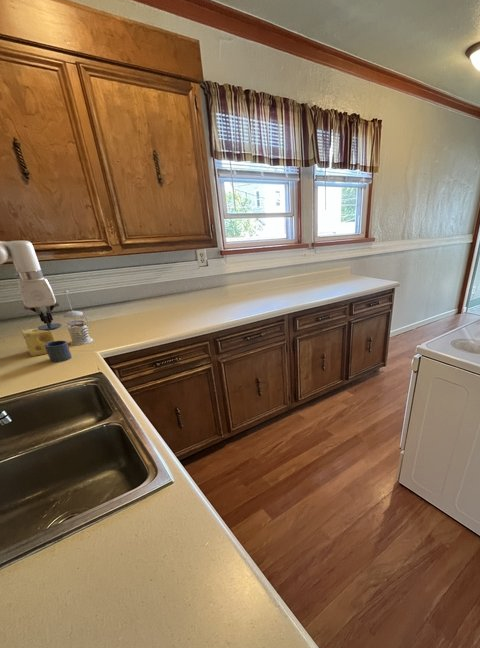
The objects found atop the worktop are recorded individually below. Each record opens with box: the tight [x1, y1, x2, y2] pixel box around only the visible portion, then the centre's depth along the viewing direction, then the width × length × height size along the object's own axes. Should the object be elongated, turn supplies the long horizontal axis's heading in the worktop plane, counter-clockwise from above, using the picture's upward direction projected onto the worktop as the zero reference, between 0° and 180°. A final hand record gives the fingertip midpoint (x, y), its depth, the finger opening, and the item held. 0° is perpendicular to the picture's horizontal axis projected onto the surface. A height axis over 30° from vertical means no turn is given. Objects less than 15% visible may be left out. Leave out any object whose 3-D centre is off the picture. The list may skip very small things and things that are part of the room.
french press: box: [62, 289, 94, 346], centre depth 156 cm, size 10×12×25 cm
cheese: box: [21, 327, 56, 358], centre depth 148 cm, size 10×11×10 cm
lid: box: [36, 311, 63, 331], centre depth 133 cm, size 8×8×6 cm
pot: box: [45, 340, 73, 363], centre depth 139 cm, size 8×8×8 cm
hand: (48, 322), depth 133 cm, fingers closed on lid, 1 cm apart
